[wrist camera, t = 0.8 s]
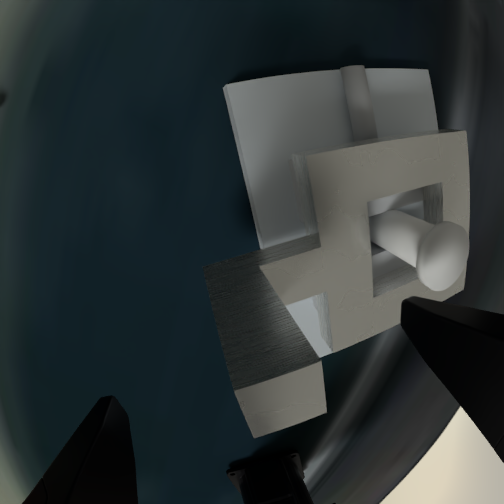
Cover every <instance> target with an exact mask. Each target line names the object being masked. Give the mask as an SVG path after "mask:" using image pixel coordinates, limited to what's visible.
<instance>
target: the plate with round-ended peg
mask: <svg viewBox="0 0 504 504" xmlns="http://www.w3.org/2000/svg"><path fill="white" fill-rule="evenodd" d="M223 91H224V95H225V99H226V103H227V107H228V111H229V115H230V120H231V124H232V128H233V132H234V136H235V141H236V145H237V149H238V153H239V158H240V162H241V166H242V170H243V175H244V179H245V183H246V188H247V192H248V196H249V200H250V205H251V209H252V213H253V218H254V222H255V226H256V231H257V235H258V239H259V244H260V248H261V249H264V248H267V247H270V246H273V245H277V244H280V243H283V242H287V241H290V240H293V239H297V238H300V237H303V236H306V231H305V226H304V220H303V214H302V208H301V203H300V197H299V192H298V187H297V181H296V176H295V171H294V166H293V161H292V156H291V154H293V153H298V152H303V151H307V150H312V149H317V148H322V147H327V146H333V145H338V144H344V143H349V142H355V141H361V140H367V139H373V138H379V137H386V136H392V135H400V134H407V133H414V132H423V131H431V130H438V124H437V117H436V110H435V104H434V98H433V92H432V87H431V82H430V77H429V72H428V70H425V69H399V68H369V69H365V68H364V66H363V65H354V66H347V67H342V68H340V70H327V71H315V72H305V73H296V74H287V75H280V76H273V77H266V78H259V79H253V80H248V81H242V82H237V83H231V84H226V85H225V86H224V88H223ZM367 208H368V218H369V229H370V242H371V257H372V277H373V278H375V277H377V276H380V275H383V274H385V273H388V272H390V271H392V270H395V269H397V268H400V267H402V266H405V265H407V264H410V265H412V266H414V267H415V268H416V271H417V276H418V278H419V280H420V281H421V282H422V283H423V284H424V285H425V286H427V287H428V288H430V289H431V290H433V291H442V290H445V289H447V288H448V287H450V286H451V285H452V284H453V283H454V282H455V281H456V280H457V279H458V277H459V276H460V274H461V273H462V271H463V269H464V267H465V264H466V262H467V258H468V254H469V238H468V234H467V232H466V230H465V229H464V228H463V227H462V226H460V225H458V224H455V223H453V222H450V221H442V222H440V223H438V224H436V225H433V224H430V223H428V222H426V221H424V208H423V188H422V187H421V188H417V189H413V190H409V191H406V192H402V193H398V194H395V195H391V196H387V197H384V198H380V199H376V200H373V201H369V202H367ZM285 307H286V308H287V310H288V311H289V313H290V314H291V316H292V317H293V319H294V320H295V322H296V323H297V325H298V326H299V328H300V329H301V331H302V332H303V334H304V335H305V337H306V338H307V340H308V341H309V343H310V344H311V346H312V347H313V349H314V350H315V352H316V353H317V355H318V356H319V358H320V357H323V356H325V355H328V354H330V353H333V352H332V351H331V349H330V348H329V347H328V345H327V344H326V342H325V341H324V340H323V338H322V337H321V334H320V326H319V318H318V311H317V303H316V296H312V297H310V298H307V299H304V300H301V301H298V302H295V303H292V304H289V305H286V306H285Z"/></svg>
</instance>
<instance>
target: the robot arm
mask: <svg viewBox="0 0 504 504" xmlns="http://www.w3.org/2000/svg"><path fill="white" fill-rule="evenodd" d="M400 323H401V326H402V328H403V330H404V331H405V333H406V334H407V336H408V337H409V339H410V340H411V342H412V343H413V345H414V346H415V348H416V349H417V351H418V352H419V354H420V355H421V357H422V358H423V359H424V361H425V362H426V363H427V365H428V366H429V367H430V368H431V370H432V371H433V372H434V373H435V374H436V376H437V377H438V378H439V379H440V381H441V382H442V383H443V384H444V385H445V387H446V388H447V389H448V390H449V392H450V393H451V394H452V395H453V397H454V398H455V399H456V400H457V402H458V403H459V404H460V405H461V407H462V408H463V409H464V410H465V412H466V413H467V414H468V416H469V417H470V418H471V420H472V421H473V422H474V423H475V425H476V426H477V427H478V429H479V430H480V431H481V433H482V434H483V435H484V437H485V438H486V439H487V441H488V442H489V443H490V445H491V446H492V447H493V448H494V450H495V452H496V453H497V455H498V456H499V457H500V459H501V460H502V462H503V463H504V314H499V313H494V312H489V311H484V310H479V309H474V308H470V307H465V306H460V305H455V304H450V303H446V302H441V301H436V300H431V299H427V298H422V297H417V296H410V297H408V298H406V299H404V300H403V301H402V303H401V317H400ZM226 473H227V476H228V477H229V479H230V480H231V482H232V483H233V484H234V486H235V487H236V488H237V490H238V491H239V492H240V493H241V495H242V498H243V501H244V504H314V503H313V501H312V499H311V497H310V494H309V492H308V490H307V488H306V485H305V483H304V481H303V479H304V478H305V476H304V472H303V468H302V464H301V460H300V456H299V453H298V451H297V450H291V451H288V452H285V453H282V454H279V455H276V456H273V457H270V458H267V459H263V460H260V461H257V462H253V463H250V464H246V465H243V466H239V467H235V468H231V469H228V470H227V471H226ZM42 477H43V478H41V479H40V480H39V482H38V483H37V485H36V486H35V487H34V489H33V490H32V491H31V493H30V494H29V496H28V497H27V498H26V499H25V501H24V502H23V503H22V504H138V496H137V483H136V467H135V458H134V451H133V445H132V438H131V431H130V424H129V418H128V415H127V413H126V411H125V410H124V409H123V407H122V406H121V405H120V403H119V402H118V400H117V399H116V398H115V397H114V396H112V395H110V396H105V397H101V398H100V399H99V400H98V401H97V403H96V404H95V405H94V407H93V408H92V409H91V411H90V412H89V413H88V415H87V416H86V417H85V419H84V420H83V421H82V423H81V424H80V425H79V427H78V428H77V429H76V431H75V432H74V434H73V435H72V436H71V438H70V439H69V440H68V442H67V443H66V444H65V446H64V447H63V449H62V450H61V451H60V453H59V454H58V455H57V457H56V458H55V460H54V461H53V462H52V464H51V465H50V466H49V468H48V469H47V471H46V472H45V473H44V475H43V476H42ZM333 504H336V503H333Z"/></svg>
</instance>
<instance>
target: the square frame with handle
mask: <svg viewBox="0 0 504 504" xmlns="http://www.w3.org/2000/svg"><path fill="white" fill-rule="evenodd" d="M291 156H292V161H293V166H294V171H295V176H296V181H297V187H298V192H299V197H300V203H301V208H302V214H303V220H304V226H305V231H306V236H303V237H300V238H297V239H293V240H290V241H287V242H283V243H280V244H277V245H273V246H270V247H267V248H264V249H260V250H257V251H254V252H250V253H247V254H244V255H240V256H237V257H234V258H230V259H227V260H224V261H220V262H217V263H214V264H210V265H207V266H204V267H203V271H204V275H205V279H206V284H207V288H208V292H209V296H210V301H211V305H212V309H213V313H214V317H215V321H216V325H217V329H218V333H219V337H220V341H221V345H222V348H223V352H224V356H225V360H226V364H227V367H228V371H229V375H230V378H231V382H232V386H233V389H234V392H235V395H236V397H237V400H238V402H239V404H240V407H241V409H242V412H243V414H244V416H245V419H246V421H247V423H248V426H249V428H250V430H251V433H252V435H253V437H254V438H256V437H260V436H263V435H266V434H269V433H272V432H275V431H278V430H281V429H284V428H287V427H290V426H293V425H295V424H298V423H301V422H303V421H306V420H309V419H311V418H314V417H316V416H319V415H321V414H324V413H326V412H327V408H326V398H325V389H324V379H323V370H322V362H321V360H320V358H319V356H318V355H317V353H316V352H315V350H314V349H313V347H312V346H311V344H310V343H309V341H308V340H307V338H306V337H305V335H304V334H303V332H302V331H301V329H300V328H299V326H298V325H297V323H296V322H295V320H294V319H293V317H292V316H291V314H290V313H289V311H288V310H287V308H286V307H285V306H286V305H289V304H292V303H295V302H298V301H301V300H304V299H307V298H310V297H312V296H316V303H317V311H318V318H319V326H320V334H321V337H322V338H323V340H324V341H325V342H326V344H327V345H328V347H329V348H330V349H331V351H332V352H333V353H334V352H337V351H339V350H342V349H344V348H347V347H349V346H351V345H354V344H356V343H358V342H360V341H363V340H365V339H367V338H370V337H372V336H374V335H376V334H378V333H380V332H383V331H385V330H387V329H389V328H391V327H393V326H395V325H397V324H399V323H400V317H401V303H402V301H403V300H404V299H406V298H408V297H410V296H417V297H422V298H427V299H431V300H436V301H441V302H442V301H444V300H446V299H448V298H449V297H451V296H453V295H455V294H456V293H458V292H460V291H462V290H463V289H464V283H465V275H466V265H467V262H466V264H465V267H464V269H463V271H462V273H461V274H460V276H459V277H458V279H457V280H456V281H455V282H454V283H453V284H452V285H451V286H450V287H448V288H447V289H445V290H442V291H433V290H431V289H430V288H428V287H427V286H425V285H424V284H423V283H422V282H421V281H420V280H419V278H418V276H417V271H416V268H415V267H414V266H412V265H410V264H407V265H405V266H402V267H400V268H397V269H395V270H392V271H390V272H388V273H385V274H383V275H380V276H377V277H375V278H373V277H372V257H371V242H370V229H369V218H368V208H367V202H369V201H373V200H376V199H380V198H384V197H387V196H391V195H395V194H398V193H402V192H406V191H409V190H413V189H417V188H421V187H422V188H423V208H424V221H426V222H428V223H430V224H433V225H436V224H438V223H440V222H442V221H450V222H453V223H455V224H458V225H460V226H462V227H463V228H464V229H465V230H466V232H467V234H468V238H469V218H470V182H469V159H468V145H467V135H466V131H464V130H453V129H440V130H431V131H423V132H414V133H407V134H400V135H392V136H386V137H379V138H373V139H367V140H361V141H355V142H349V143H344V144H338V145H333V146H327V147H322V148H317V149H312V150H307V151H303V152H298V153H293V154H291Z"/></svg>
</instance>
